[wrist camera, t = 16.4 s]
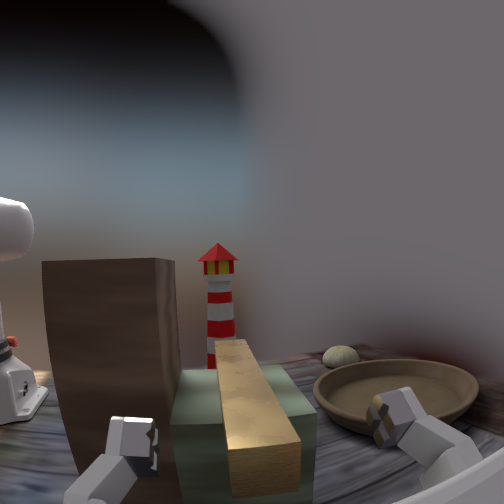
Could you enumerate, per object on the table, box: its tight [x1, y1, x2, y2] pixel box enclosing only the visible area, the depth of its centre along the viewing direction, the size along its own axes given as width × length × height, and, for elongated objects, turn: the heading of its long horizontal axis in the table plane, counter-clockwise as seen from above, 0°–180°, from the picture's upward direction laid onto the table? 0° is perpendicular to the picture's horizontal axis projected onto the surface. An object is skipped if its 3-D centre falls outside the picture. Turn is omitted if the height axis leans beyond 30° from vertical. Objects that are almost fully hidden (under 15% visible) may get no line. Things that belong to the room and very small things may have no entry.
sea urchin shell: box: [323, 346, 359, 369], centre depth 76 cm, size 9×8×8 cm
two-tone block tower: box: [42, 258, 317, 504], centre depth 24 cm, size 12×18×27 cm, turn 98°
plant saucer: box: [313, 359, 479, 436], centre depth 50 cm, size 31×31×5 cm
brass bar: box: [214, 339, 301, 499], centre depth 21 cm, size 20×3×3 cm, turn 8°
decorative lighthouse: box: [198, 243, 238, 369], centre depth 51 cm, size 10×9×30 cm
